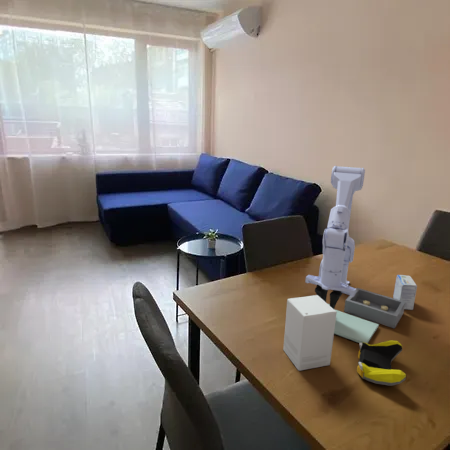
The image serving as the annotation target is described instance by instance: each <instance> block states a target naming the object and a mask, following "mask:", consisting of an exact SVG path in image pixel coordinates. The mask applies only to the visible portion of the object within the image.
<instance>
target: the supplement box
mask: <svg viewBox="0 0 450 450" xmlns="http://www.w3.org/2000/svg"><path fill="white" fill-rule="evenodd" d="M328 304H329V303H327V301H326V302H325V301H324V300H323V299H321V298H320V297H319V296H318V295H317V294H315V295H314V294H313V295H307V296H301V297H300V296H299V297H291V298H287V301H286V310H285V311H286V312H285V325H284V336H283V351H284V353H285V355H287V357H288V359H289V360H290V361H291V362H292V364H293V365H294V367H295V368H296V369H297V371H299V372H301V371H305V370H310V369H315V368H320V367H326V366H330V365H331V361H332V352H333V344H334V335H335V334H334V329H335V321H336V314H337V312H336V311H335V310H336V309H335V308H334V309H335V310H334V309H333V308H332V307H331V306H329V305H328Z"/></svg>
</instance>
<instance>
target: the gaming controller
mask: <svg viewBox="0 0 450 450" xmlns="http://www.w3.org/2000/svg"><path fill="white" fill-rule="evenodd" d="M402 351H403V345H402V343H400V342H399V341H398V340H393V339H392V340H391V339H389V340H385V341H382V342H377V343H373V344H369V342H368V343H365V342H363V343H359V351H358V353H357V358H358V365H357V366H356V367H357V368H356V372H357V374H358V375H359V376H360V377H361V379H362V380H366V381H368V382H370V383H374V384H378V385H385V386H389V387H390V386H391V387H392V386H396V385H400V384H401V383H403V382H404V381H406V378H407V376H406V375H407V374H406V373H405V372H404V371H403V370H401V369H393V368H392V361H394V359H395V358H396V357H397V356H399V354H400V353H402Z"/></svg>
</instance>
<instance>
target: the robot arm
mask: <svg viewBox="0 0 450 450" xmlns="http://www.w3.org/2000/svg"><path fill="white" fill-rule="evenodd" d="M365 173H366V169H365V168H364V167H354V166H353V167H349V166H337V165H334V166H332V169H331V175H330V184H331V186H332V188H333V189H336V190H337V191H336V200H335V206H333V207H332V208H330V212H329V217H328V221H327V227H326V228H325V229H324V231H323V234H322V235H323V236H322V259H321V261H320V265H319V271H318V276H316V275H313V274H308V275H306V276H305V283H306V284H311V285H315V286H316V287H315V288H314V292H315V295H318V296H319V297H320V298H321V299H323V300H324V301H325V302H326V303H327V296H328V291H330V290H332V291H331V292H330V293H329V304H330V306H331V307H332V308H333V309H335V308H336V305H337V303H338V301H339V300H340V298H341V297H342V295H343V294H346V295H348V296H351V297H354V296H355V295H356V288H357V287H356V288H355V287H352V286H350V284H351V283H350V282H351V281H349V280H348V279H347V278H348V271H349V264H351V263H352V262H353V261H354V255H355V250H356V249H355V248H356V247H355V246H356V244H355V243H356V242H355V240H354V239H353V238H352V237H350V235H349V234H350V233H349V229H350V222H351V220H350V219H351V214H352V213H351V212H352V206H353V205H352V204H353V198H354V195H355V193H356V192H358V191H362V189H363V186H364V180H365Z"/></svg>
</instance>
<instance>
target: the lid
mask: <svg viewBox="0 0 450 450" xmlns="http://www.w3.org/2000/svg"><path fill="white" fill-rule="evenodd" d="M327 304H328V305H329V306H330V303H327ZM334 310H335V311H336V312H337V314H336V321H335V329H334V335H337V336H339V337H342V338H345V339H348V340H350V341H353V342H356V343H359V344H360V343H363V342H365V343H368V344H369V342H370V341H371V339H372V338H373V336H374V334H375V333H376V332H377V330H378V328H379V325H380V323H377V322H374V321H371V320H368V319H365V318H362V317H359V316H356V315H353V314H350V313H347V312H344V311H340V310H338V309H335V308H334Z"/></svg>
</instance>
